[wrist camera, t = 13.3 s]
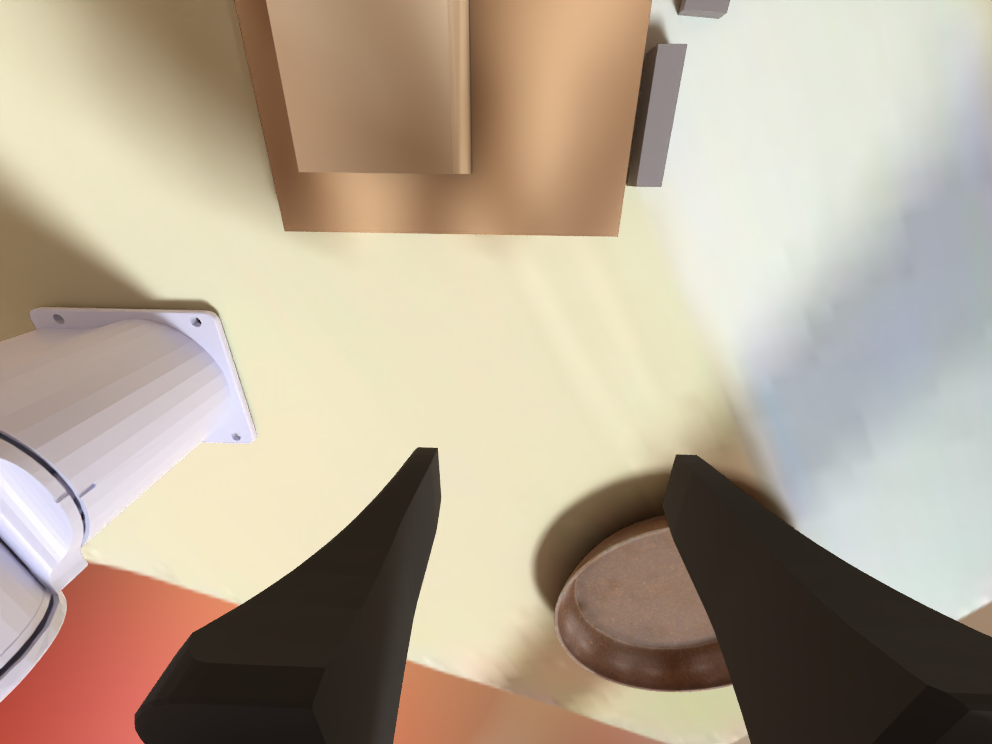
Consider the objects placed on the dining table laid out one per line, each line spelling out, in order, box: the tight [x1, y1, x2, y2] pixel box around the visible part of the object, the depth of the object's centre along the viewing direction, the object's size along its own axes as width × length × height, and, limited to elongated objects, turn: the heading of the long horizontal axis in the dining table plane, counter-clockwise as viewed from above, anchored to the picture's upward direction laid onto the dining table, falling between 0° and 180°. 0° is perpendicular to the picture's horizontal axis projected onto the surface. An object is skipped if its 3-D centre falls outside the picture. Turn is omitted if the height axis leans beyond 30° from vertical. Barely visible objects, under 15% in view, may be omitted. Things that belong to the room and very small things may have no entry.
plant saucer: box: [554, 515, 733, 692], centre depth 27 cm, size 18×18×3 cm
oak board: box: [234, 0, 652, 237], centre depth 14 cm, size 14×14×2 cm
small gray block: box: [627, 44, 687, 187], centre depth 15 cm, size 2×4×1 cm
